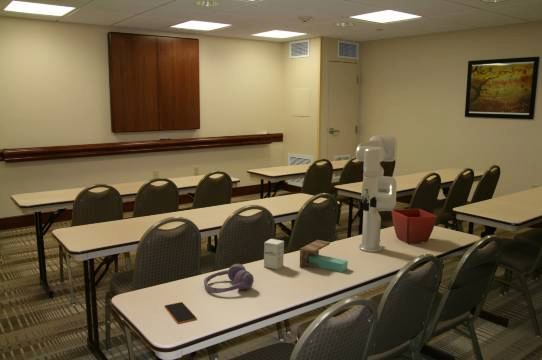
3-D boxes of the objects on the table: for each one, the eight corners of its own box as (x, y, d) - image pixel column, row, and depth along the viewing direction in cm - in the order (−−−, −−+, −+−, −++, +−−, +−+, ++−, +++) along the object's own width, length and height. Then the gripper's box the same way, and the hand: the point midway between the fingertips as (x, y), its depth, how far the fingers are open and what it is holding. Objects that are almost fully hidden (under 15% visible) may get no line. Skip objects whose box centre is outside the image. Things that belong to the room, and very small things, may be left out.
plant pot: (435, 244, 266) (438, 215, 263) (406, 246, 261) (408, 217, 258) (417, 235, 284) (418, 208, 282) (389, 237, 279) (390, 209, 277)
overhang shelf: (316, 257, 239) (317, 239, 237) (329, 260, 235) (329, 242, 233) (299, 267, 224) (300, 248, 222) (312, 270, 220) (313, 251, 219)
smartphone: (182, 303, 182) (182, 301, 182) (197, 320, 168) (197, 318, 168) (163, 307, 178) (163, 305, 178) (177, 325, 164) (177, 322, 164)
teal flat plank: (314, 261, 233) (314, 253, 232) (347, 268, 223) (347, 260, 223) (308, 264, 228) (308, 256, 227) (342, 272, 218) (342, 264, 218)
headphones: (244, 275, 211) (201, 287, 204) (241, 258, 209) (198, 270, 202) (258, 290, 194) (212, 304, 187) (255, 272, 192) (208, 285, 185)
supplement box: (263, 267, 223) (263, 242, 221) (270, 262, 230) (270, 238, 228) (277, 270, 220) (277, 244, 218) (283, 265, 226) (284, 240, 224)
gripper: (370, 171, 231) (368, 204, 234) (356, 175, 217) (355, 211, 220) (385, 172, 227) (383, 206, 230) (372, 176, 213) (370, 213, 216)
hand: (369, 208), depth 225 cm, fingers open, 9 cm apart
